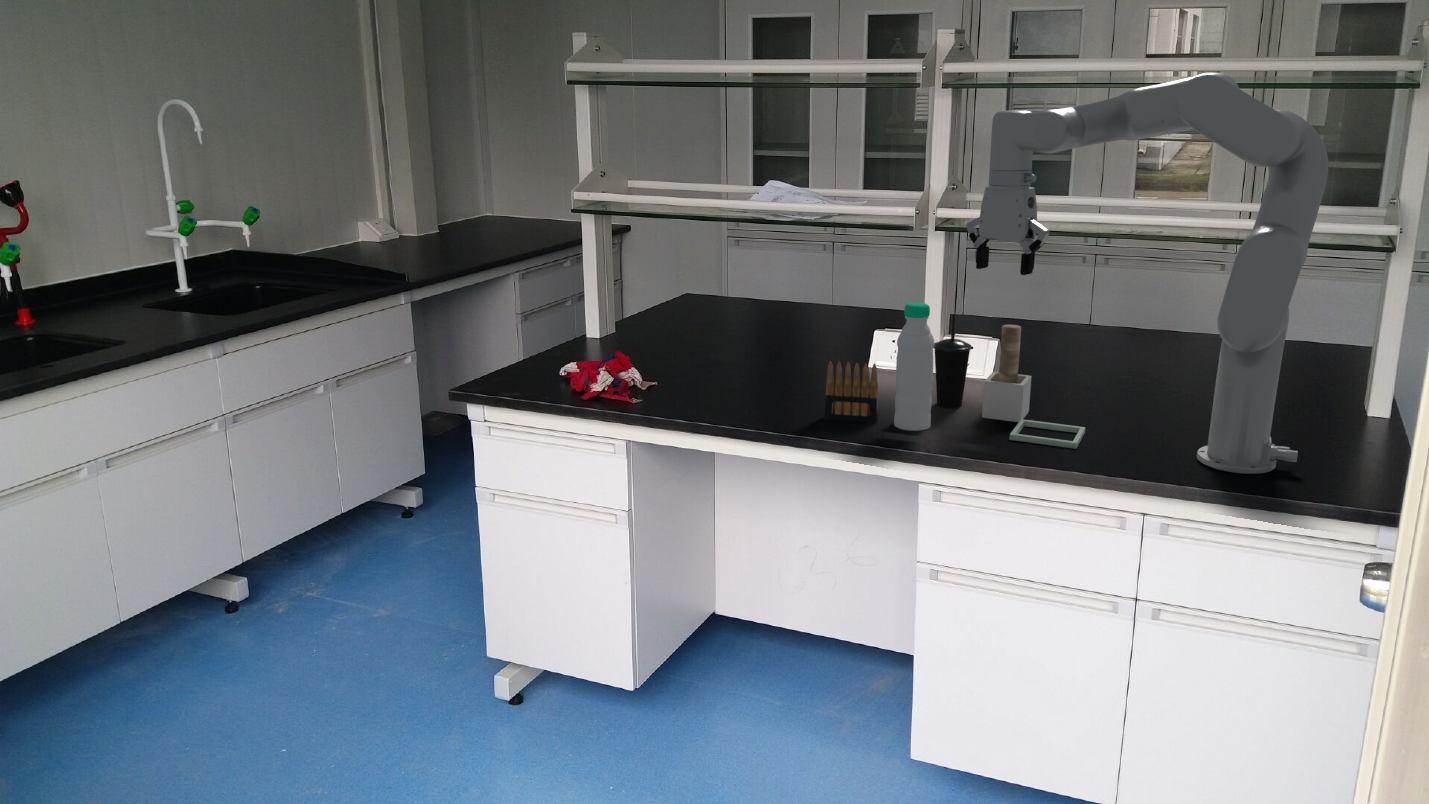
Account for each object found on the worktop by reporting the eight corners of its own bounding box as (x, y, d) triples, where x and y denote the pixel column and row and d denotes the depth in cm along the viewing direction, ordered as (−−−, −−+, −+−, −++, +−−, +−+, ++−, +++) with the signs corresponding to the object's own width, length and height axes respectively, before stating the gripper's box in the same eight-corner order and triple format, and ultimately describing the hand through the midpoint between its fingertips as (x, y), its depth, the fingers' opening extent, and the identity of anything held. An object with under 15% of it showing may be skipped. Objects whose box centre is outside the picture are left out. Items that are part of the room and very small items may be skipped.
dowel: (1016, 413, 211) (1023, 325, 206) (1012, 418, 208) (1019, 329, 203) (998, 410, 213) (1004, 324, 208) (994, 415, 210) (1000, 327, 205)
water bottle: (897, 422, 210) (902, 299, 203) (933, 425, 208) (939, 301, 200) (890, 433, 204) (894, 306, 197) (926, 436, 201) (932, 308, 194)
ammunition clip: (878, 420, 212) (879, 362, 208) (877, 422, 210) (878, 364, 207) (825, 416, 215) (826, 359, 211) (824, 419, 213) (824, 362, 209)
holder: (1028, 416, 213) (1031, 375, 210) (1020, 427, 206) (1023, 385, 204) (990, 411, 216) (993, 371, 213) (981, 422, 209) (984, 381, 207)
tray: (1084, 437, 200) (1085, 427, 199) (1075, 453, 191) (1076, 443, 191) (1020, 428, 205) (1021, 419, 204) (1009, 444, 197) (1009, 434, 196)
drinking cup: (926, 404, 221) (930, 311, 216) (961, 402, 222) (966, 310, 216) (935, 415, 214) (940, 319, 208) (972, 413, 215) (978, 318, 209)
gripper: (1062, 180, 191) (1055, 274, 196) (981, 175, 203) (976, 263, 208) (1040, 183, 186) (1033, 279, 191) (958, 178, 198) (954, 268, 203)
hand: (1003, 271), depth 200 cm, fingers open, 9 cm apart
